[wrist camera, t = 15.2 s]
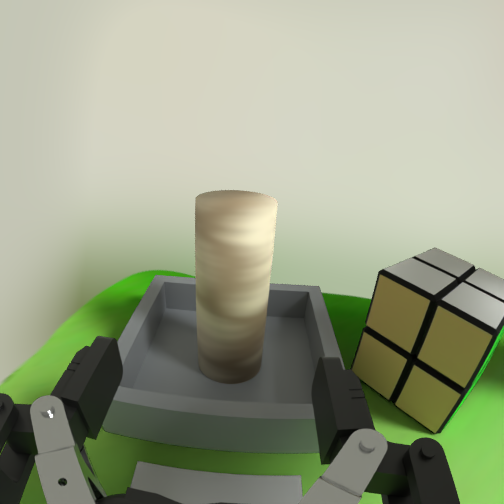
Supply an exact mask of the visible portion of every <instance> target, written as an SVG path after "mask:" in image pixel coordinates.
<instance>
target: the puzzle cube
mask: <svg viewBox="0 0 504 504" xmlns="http://www.w3.org/2000/svg"><path fill="white" fill-rule="evenodd" d="M365 322H366V325H367V326H366V327H365V328H363V331H362V334H361V338H360V341H359V344H358V347H357V351H356V354H355V357H354V360H353V363H352V366H351V370H352V371H353V372H354V373H355V374H356V376H357V377H358V378H360V379H361V380H362V381H364V382H365V383H366V384H368V385H369V386H370V387H372V388H373V389H374V390H376V391H377V392H379V393H380V394H381V395H383V396H384V397H385V398H387V399H388V400H389V401H392V400H394V402H395V405H396V406H397V407H399V408H400V409H402V410H403V411H404V412H406V413H407V414H409V415H410V416H411V417H413V418H414V419H416V420H417V421H418V422H420V423H421V424H423V425H424V426H425V427H427V428H428V429H430V430H431V431H433V432H434V433H435V434H436V433H441V431H442V430H443V429H444V428H445V426H446V425H447V424H448V423H449V421H450V420H451V419H452V417H453V416H454V415H455V413H456V412H457V411H458V409H459V408H460V406H461V405H462V404H463V402H464V401H465V399H466V398H467V396H468V395H469V393H470V392H471V390H472V389H473V387H474V386H475V384H476V383H477V381H478V380H479V378H480V377H481V375H482V373H483V371H484V370H485V368H486V366H487V364H488V362H489V361H490V359H491V357H492V355H493V353H494V351H495V349H496V347H497V345H498V343H499V340H500V339H501V337H502V335H503V333H504V279H502V278H500V277H498V276H496V275H494V274H491V273H489V272H487V271H485V270H483V269H481V268H478V269H475V267H474V265H473V264H470V263H468V262H466V261H464V260H462V259H460V258H457V257H455V256H453V255H451V254H448V253H446V252H444V251H442V250H440V249H437V248H433V249H430V250H428V251H426V252H423V253H421V254H419V255H416V256H414V257H412V258H409V259H407V260H404V261H402V262H399V263H397V264H395V265H392V266H389V267H387V268H385V269H382V270H380V271H379V272H378V276H377V281H376V285H375V289H374V292H373V296H372V300H371V303H370V307H369V311H368V314H367V318H366V321H365Z"/></svg>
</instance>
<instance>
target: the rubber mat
mask: <svg viewBox="0 0 504 504" xmlns="http://www.w3.org/2000/svg"><path fill="white" fill-rule="evenodd" d="M130 488H134V489H138V490H143V491H148V492H152V493H157V494H160V495H162V496H164V497H167V498H169V499H172V500H174V501H177V502H179V503H182V504H210V503H219V502H224V503H238V504H298V503H299V501H300V500H301V499H302V498H303V496H302V483H301V475H294V476H266V475H240V474H226V473H214V472H205V471H196V470H188V469H181V468H174V467H168V466H162V465H157V464H151V463H146V462H141V461H138V462H137V465H136V469H135V472H134V476H133V479H132V483H131V486H130Z"/></svg>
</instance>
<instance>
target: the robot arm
mask: <svg viewBox="0 0 504 504" xmlns="http://www.w3.org/2000/svg"><path fill="white" fill-rule="evenodd" d="M122 377H123V365H122V360H121V356H120V352H119V347H118V343H117V340H116V339H115V338H109V337H103V336H97V337H96V339H95V340H94V342H93V343H92V345H91V346H90V347H89V346H85V347H84V348H82V349H81V350H80V351H78V352H77V353H76V355H75V356H74V358H73V359H72V361H71V363H70V364H69V365H68V367H67V370H65V372H64V373H63V375H62V377H61V378H60V380H59V381H58V383H57V385H56V386H55V388H54V390H53V391H52V393H51V394H50V395H47V396H42V397H40V398H38V399H36V400H35V401H34V402H33V404H32V405H27V404H14V402H13V401H12V399H11V397H10V396H8V395H6V394H3V393H0V453H1V450H2V448H3V446H4V444H5V442H6V445H5V447H4V449H3V451H2V453H1V455H0V504H19V503H20V500H21V497H22V494H23V492H24V489H25V486H26V484H27V481H28V478H29V476H30V473H31V470H32V468H33V465H34V463H35V462H36V466H37V470H38V474H39V478H40V481H41V485H42V488H43V492H44V495H45V498H46V501H47V504H182V503H179V502H177V501H174V500H172V499H169V498H167V497H164V496H162V495H160V494H157V493H152V492H148V491H143V490H138V489H134V488H130V487H128V488H127V491H126V494H115V495H110V496H107V495H106V493H105V491H104V489H103V488H102V486H101V484H100V482H99V480H98V478H97V475H96V473H95V470H94V468H93V465H92V463H91V460H90V458H89V455H88V453H87V450H86V447H85V445H84V442H85V439H86V437H88V438H91V439H95V440H96V438H97V436H98V434H99V431H100V429H101V426H102V424H103V422H104V419H105V417H106V415H107V412H108V410H109V408H110V405H111V403H112V401H113V398H114V396H115V394H116V392H117V389H118V387H119V385H120V383H121V380H122ZM311 396H312V404H313V410H314V417H315V424H316V431H317V437H318V445H319V452H320V459H321V465H323V464H330V466H329V467H328V468H327V470H326V471H325V472H324V474H323V475H322V476H320V477H319V478H318V479H317V481H316V482H315V483H314V484H313V486H312V487H311V488H310V489H309V491H308V492H307V493H306V494H305V495H304V497H303V498H302V499H301V500H300V501H299V503H298V504H358V503H359V501H360V499H361V497H362V494H363V492H369V493H376V494H381V495H382V501H383V504H460V501H459V498H458V494H457V491H456V487H455V484H454V481H453V478H452V474H451V471H450V468H449V465H448V462H447V459H446V456H445V453H444V450H443V448H442V446H441V445H440V444H439V443H438V442H437V441H435V440H434V439H431V438H419V439H417V440H415V441H414V442H413V443H412V444H411V445H404V444H397V443H392V442H389V441H386V439H385V437H384V436H383V435H382V434H381V433H379V432H378V431H376V430H375V428H374V425H373V421H372V418H371V415H370V412H369V408H368V405H367V402H366V399H365V395H364V392H363V391H362V386H361V383H360V380H359V378H358V377H357V376H356V374H355V373H354V372H353V371H352V370H343V367H342V364H341V360H340V358H339V357H320V358H319V360H318V364H317V368H316V372H315V375H314V379H313V383H312V390H311ZM210 504H238V503H224V502H219V503H210Z"/></svg>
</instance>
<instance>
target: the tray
mask: <svg viewBox="0 0 504 504" xmlns="http://www.w3.org/2000/svg"><path fill="white" fill-rule="evenodd" d="M117 343H118V347H119V352H120V356H121V360H122V365H123V377H122V380H121V383H120V385H119V387H118V389H117V392H116V394H115V396H114V398H113V401H112V403H111V405H110V408H109V410H108V412H107V415H106V417H105V419H104V422H103V424H102V425H103V428H104V430H105V431H106V432H110V433H114V434H119V435H123V436H127V437H132V438H137V439H142V440H147V441H153V442H158V443H164V444H171V445H177V446H184V447H192V448H200V449H210V450H220V451H233V452H250V453H320V452H319V445H318V437H317V431H316V424H315V417H314V410H313V404H312V396H311V390H312V383H313V379H314V375H315V372H316V368H317V364H318V360H319V358H320V357H339V358H340V360H341V364H342V367H343V370H345V367H344V364H343V360H342V357H341V354H340V350H339V347H338V344H337V340H336V337H335V334H334V331H333V328H332V324H331V321H330V318H329V315H328V312H327V309H326V306H325V302H324V299H323V296H322V293H321V290H320V287H319V286H305V285H287V284H271V283H270V287H269V297H268V307H267V316H266V325H265V334H264V343H263V352H262V361H261V368H260V370H259V372H258V373H257V375H256V376H255V377H253V378H252V379H250V380H248V381H246V382H242V383H238V384H224V383H219V382H216V381H213V380H211V379H210V378H208V377H207V376H205V375H204V374H203V373H202V371H201V370H200V368H199V365H198V345H197V318H196V278H186V277H174V276H162V275H156V276H155V277H154V279H153V281H152V282H151V284H150V286H149V287H148V289H147V291H146V292H145V294H144V296H143V297H142V299H141V301H140V303H139V304H138V306H137V308H136V309H135V311H134V313H133V315H132V316H131V318H130V320H129V322H128V324H127V325H126V327H125V329H124V331H123V332H122V334H121V336H120V338H119V340H118V342H117Z"/></svg>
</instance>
